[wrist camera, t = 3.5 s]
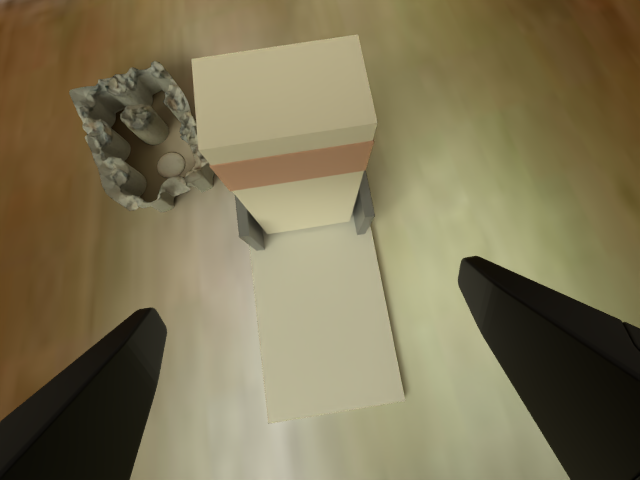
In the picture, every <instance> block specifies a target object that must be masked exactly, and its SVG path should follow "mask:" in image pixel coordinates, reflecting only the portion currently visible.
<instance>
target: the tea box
mask: <svg viewBox="0 0 640 480" xmlns="http://www.w3.org/2000/svg"><path fill="white" fill-rule="evenodd" d="M192 72H193V86H194V99H195V112H196V125H197V139H198V150H199V152H200V153H201V154H202V155H203V156H204V158H205V159H206V160H207V161H208V162H209V165H210V168H211V169H212V170H213V171H214V173H215V174H216V175H217V176H218V177H219V179H220V180H221V181H222V182H223V183H224V184H225V186H226V187H227V188H228V189H229V190H230V191H232V192H233V193H234V194H235V195H236V196H237V198H238V199H239V200H240V201H241V203H242V204H243V205H244V206H245V207H246V209H247V210H248V211H249V212H250V213H251V215H252V216H253V217H254V218H255V219H256V221H257V222H258V223H259V224H260V226H261V227H262V228H263V229H264V230H265V232H266V233H267V234H273V233H279V232H285V231H292V230H298V229H305V228H311V227H317V226H324V225H330V224H337V223H343V222H349V221H350V218H351V215H352V211H353V208H354V204H355V201H356V197H357V194H358V190H359V187H360V183H361V180H362V176H363V173H364V171H365V170H366V168H367V164H368V161H369V158H370V154H371V151H372V147H373V144H374V139H373V137H374V134H375V130H376V127H377V118H376V113H375V109H374V104H373V100H372V95H371V91H370V86H369V82H368V77H367V73H366V68H365V64H364V59H363V55H362V50H361V46H360V41H359V37H358V34H357V35H351V36H344V37H337V38H330V39H323V40H317V41H310V42H303V43H296V44H290V45H283V46H276V47H269V48H262V49H256V50H249V51H242V52H235V53H229V54H222V55H215V56H208V57H201V58H195V59H192Z"/></svg>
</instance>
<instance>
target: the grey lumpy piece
mask: <svg viewBox="0 0 640 480" xmlns="http://www.w3.org/2000/svg"><path fill="white" fill-rule="evenodd" d="M161 90H163V91H164V92H165V99H164V101H163V102H164V104H165V105H166V106H167V107H168V108H169V109H170V110H171V111H172V113H173V114H174V115H175V116H176V117H177V119H178V120H179V121H180V122H181V128H180V133H181V134H182V136H181V138H182V140H184V141H186V142H187V143H188V144H189V145H190V147H191V150H192V152H193V155H194V159H195V166H194V167H193V168H192V170H191V171H189V172H188V173H187V174H186V176H185V178H184V177H181V176H179V175H180V174H181V173H182V172H183V170H184V168H185V160H184V158H183V156H181V155H180V154H178V153H175V152H169V153H166V154H164V155H163V156H162V157H161V158H160V159H159V161H158V163H157V169H158V173H159V174H160V175H161V176H162V177H165V178H168V179H167V180H166V181H165V182H164V183H163V184H162V185H161V188H160V191H159V194H158V198H157V199H156V200H155V201H152V202H146V201H144V200H143V199H141V198H140V197H139V196H141V195H142V194H143V193H144V191H145V189H146V185H147V183H146V179H145V177H144V176H143V175H142V174H141V173H139V172H138V171H137V170H135V169H134V168H132V167H131V166H130V165H128V164H127V163H126V162H125V160H126V159H127V158H128V156H129V154H130V151H131V148H130V145H129V143H128V142H127V141H126V140H125V139H124V138H122V137H121V136H120V135H119V134H118V133H117V132H115V131H114V130H113V129H112V128H111V127H112V126H113V124H114V123H115V120H116V113H117V112H118V111H121V110H123V109H125V110H124V111H123V112H122V113H121V115H120V119H121V121H122V122H123V123H124V124H126V126H127V127H128V128H129V129H130V130H131V131H132V132H133V133H134V134H135V135H137V136H138V137H139V138H140V139H141V140H143V141H144V142H145V143H147V144H150V145H157V144H160V143H162V142H163V141H164V140H165V139H166V138H167V136H168V126H167V125H166V123H165V122H164V121H163V120H162V119H161V118H160V117H159V115H158V114H157V113H156V112H155V111H154V109H153V108H152V107H151V105H152V102H153V98H152V95H153V94H155V93H157V92H159V91H161ZM69 94H70V96H71V98H72V100H73V103H74V105H75V107H76V110H77V112H78V115H79V116H80V118H81V119H82V121H83V129H84V130H85V131H86V133H87V135H86V136H85V139H86V141H87V143H88V145H89V147H90V149H91V151H92V154H93V158H94V161H95V163H96V165H97V167H98V169H99V174H100V178H101V182H102V187H103V188H104V190H105V192H106V194H107V195H109V196H110V197H111V198H112V199H113V200H115V201H116V202H118V203H119V204H121V205H122V206H124V207H125V208H127V209H128V210H129V211H131V210H136V209H138V207H141V208H146V207H153V208H154V209H156V210H158V211H159V212H166V211H168V210H170V209H173V208H174V197H175V196H177V195H179V194H182V193H185V192H187V191H189V190H190V188H189V187H188V186H192V187H196V188H197V189H199V190H200V191H201V192H205V191H207V190H209V189H211V188H212V187H213V176H214V174H215V173H214V171H213V170H212V169H211V168H210V165H209V162H208V161H207V160H206V159H205V158H204V156H203V155H202V154H201V153H200V152H199V150H198V139H197V125H196V123H195V121H194V119H193V117H192V115H191V112H190V111H191V110H190V107H189V104H188V101H187V99H186V97H185V95H184V93H183V92H182V91H181V89H180V88H179V86H178V85H177V84H176V82H175V81H174V80H173V79H172V77H171V75H170V74H169V73H168V72H167V71H166V70H165V69H164V67H163V66H162V65H161V64H160V63H159V62H156V61H154V62H152V63H151V67H150V68H148V69H145V70H138V69H136V68H130V70H129V71H128V72H127V73H126V74H120V75H119V74H117V75H116V74H115V75H114V76H113V77H111V78H107V79H98V84H97V85H96V86H90V87H81V88H77V89H73V90H70V92H69Z"/></svg>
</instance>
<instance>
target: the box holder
mask: <svg viewBox="0 0 640 480" xmlns="http://www.w3.org/2000/svg"><path fill="white" fill-rule="evenodd" d="M235 200H236V210H237V220H238V230H239V237H240V238H241V239H242V240H243V241H245V242H246V243H247V244H249V248H250V257H251V267H252V276H253V285H254V294H255V304H256V313H257V322H258V332H259V341H260V350H261V360H262V369H263V378H264V387H265V397H266V406H267V415H268V424H269V423H275V422H281V421H287V420H293V419H300V418H306V417H312V416H318V415H324V414H330V413H336V412H342V411H348V410H354V409H360V408H366V407H372V406H378V405H384V404H390V403H396V402H402V401H405V396H404V391H403V386H402V381H401V376H400V371H399V366H398V361H397V356H396V351H395V346H394V341H393V336H392V331H391V326H390V321H389V316H388V311H387V306H386V301H385V296H384V291H383V286H382V281H381V276H380V271H379V266H378V261H377V256H376V251H375V246H374V241H373V236H372V231H371V226H370V224H371V222H372V220H373V219H374V217H375V214H374V209H373V204H372V199H371V194H370V189H369V184H368V179H367V175H366V170H365V171H364V173H363V176H362V180H361V183H360V187H359V190H358V194H357V197H356V201H355V204H354V208H353V211H352V215H351V218H350V221H349V222H343V223H337V224H330V225H324V226H317V227H311V228H305V229H298V230H292V231H285V232H279V233H273V234H267V233H266V232H265V230H264V229H263V228H262V227H261V226H260V224H259V223H258V222H257V221H256V219H255V218H254V217H253V216H252V215H251V213H250V212H249V211H248V210H247V209H246V207H245V206H244V205H243V204H242V203H241V201H240V200H239V199H238V198H237V196H236V195H235Z"/></svg>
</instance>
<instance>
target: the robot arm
mask: <svg viewBox="0 0 640 480" xmlns="http://www.w3.org/2000/svg"><path fill="white" fill-rule="evenodd" d="M458 285H459V288H460V290H461V292H462V294H463V296H464V298H465V300H466V303H467V305H468V307H469V309H470V311H471V313H472V315H473V318H474V320H475V322H476V324H477V326H478V328H479V330H480V332H481V334H482V335H483V337H484V339H485V341H486V342H487V344H488V345H489V347H490V349H491V350H492V352H493V354H494V355H495V357H496V359H497V360H498V362H499V363H500V365H501V367H502V368H503V370H504V372H505V373H506V375H507V377H508V378H509V380H510V381H511V383H512V385H513V386H514V388H515V390H516V391H517V393H518V395H519V396H520V398H521V399H522V401H523V403H524V404H525V406H526V408H527V409H528V411H529V412H530V414H531V416H532V417H533V419H534V421H535V422H536V424H537V426H538V427H539V429H540V430H541V432H542V434H543V435H544V437H545V439H546V440H547V442H548V444H549V445H550V447H551V448H552V450H553V452H554V453H555V455H556V457H557V458H558V460H559V462H560V463H561V465H562V466H563V468H564V470H565V471H566V473H567V475H568V476H569V478H570V480H640V328H637V327H635V326H633V325H631V324H629V323H626V322H623V323H622V321H621V320H619V319H617V318H615V317H613V316H610V315H608V314H606V313H604V312H602V311H599V310H597V309H595V308H593V307H590V306H588V305H586V304H584V303H581V302H579V301H577V300H575V299H573V298H570V297H568V296H566V295H564V294H561V293H559V292H557V291H555V290H552V289H550V288H548V287H546V286H543V285H541V284H539V283H537V282H535V281H532V280H530V279H528V278H526V277H523V276H521V275H519V274H517V273H514V272H512V271H510V270H508V269H506V268H503V267H501V266H499V265H497V264H494V263H492V262H490V261H488V260H485V259H483V258H481V257H478V256H472V257H466V258H463V259H462V260H461V264H460V270H459V276H458ZM166 336H167V329H166V326H165V324H164V322H163V321H162V319H161V317H160V316H159V314H158V312H157V311H156V309H154V308H144V309H139V310H137V311H136V312H134V313H133V314H132V315H131V316H129V317H128V318H127V319H126V320H124V321H123V322H122V323H121V324H120V325H118V326H117V327H116V328H115V329H113V330H112V331H111V332H110V333H108V334H107V335H106V336H105V337H104V338H102V339H101V340H100V341H99V342H97V343H96V344H95V345H94V346H92V347H91V348H90V349H89V350H88V351H86V352H85V353H84V354H83V355H81V356H80V357H79V358H78V359H76V360H75V361H74V362H73V363H72V364H70V365H69V366H68V367H67V368H65V369H64V370H63V371H62V372H60V373H59V374H58V375H57V376H56V377H54V378H53V379H52V380H51V381H49V382H48V383H47V384H46V385H45V386H43V387H42V388H41V389H40V390H38V391H37V392H36V393H35V394H33V395H32V396H31V397H30V398H29V399H27V400H26V401H25V402H24V403H22V404H21V405H20V406H19V407H17V408H16V409H15V410H14V411H13V412H11V413H10V414H9V415H8V416H6V417H5V418H4V419H3V420H1V422H0V480H130V477H131V473H132V470H133V466H134V463H135V460H136V456H137V453H138V449H139V446H140V443H141V439H142V436H143V432H144V429H145V426H146V422H147V419H148V416H149V412H150V409H151V405H152V402H153V399H154V395H155V392H156V388H157V384H158V379H159V374H160V369H161V363H162V358H163V352H164V347H165V341H166Z"/></svg>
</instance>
